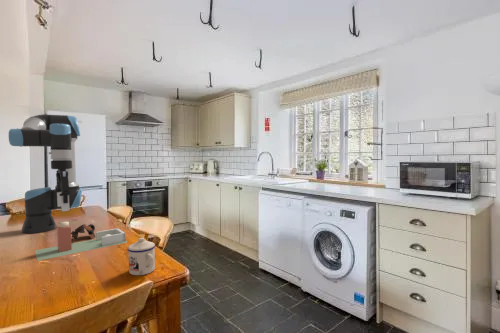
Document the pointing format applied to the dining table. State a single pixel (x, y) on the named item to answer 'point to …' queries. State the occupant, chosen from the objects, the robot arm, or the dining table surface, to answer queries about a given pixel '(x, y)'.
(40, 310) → the dining table surface
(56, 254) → the felt mat
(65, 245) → the red tall block
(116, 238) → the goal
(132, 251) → the teacup with lid
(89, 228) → the pottery mug
